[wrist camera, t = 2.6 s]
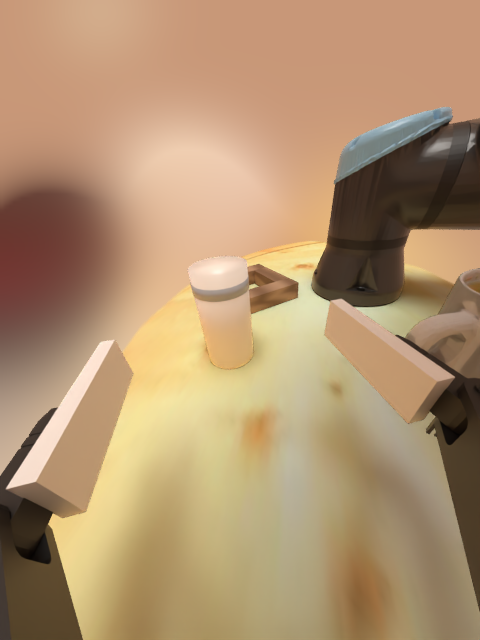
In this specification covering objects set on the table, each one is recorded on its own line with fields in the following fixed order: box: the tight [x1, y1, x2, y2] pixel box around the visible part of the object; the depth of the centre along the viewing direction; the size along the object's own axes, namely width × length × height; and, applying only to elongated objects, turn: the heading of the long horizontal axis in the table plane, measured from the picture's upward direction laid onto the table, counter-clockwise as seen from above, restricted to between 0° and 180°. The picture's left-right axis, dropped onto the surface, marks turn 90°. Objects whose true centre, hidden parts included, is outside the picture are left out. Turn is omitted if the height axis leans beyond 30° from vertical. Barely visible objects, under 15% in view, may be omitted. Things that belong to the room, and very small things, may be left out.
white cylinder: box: [188, 256, 254, 369], centre depth 23 cm, size 6×6×12 cm
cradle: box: [247, 264, 298, 314], centre depth 40 cm, size 14×14×3 cm
